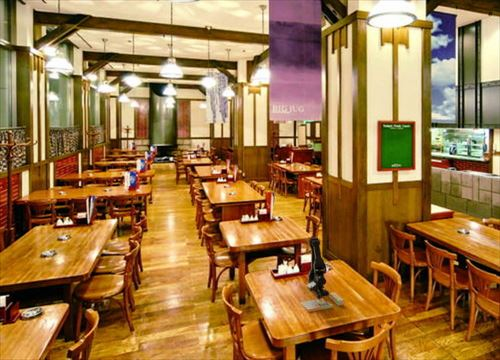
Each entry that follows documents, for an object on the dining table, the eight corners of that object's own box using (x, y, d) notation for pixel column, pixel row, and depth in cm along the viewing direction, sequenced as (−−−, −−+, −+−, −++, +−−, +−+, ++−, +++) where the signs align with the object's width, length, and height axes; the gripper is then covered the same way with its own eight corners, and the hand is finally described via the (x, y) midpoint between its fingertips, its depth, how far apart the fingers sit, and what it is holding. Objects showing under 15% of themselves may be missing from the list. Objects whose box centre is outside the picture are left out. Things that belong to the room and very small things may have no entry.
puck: (315, 302, 247) (315, 299, 246) (322, 301, 248) (322, 298, 247) (319, 305, 242) (319, 302, 241) (325, 304, 243) (325, 301, 243)
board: (299, 303, 247) (299, 300, 246) (322, 299, 252) (322, 296, 252) (308, 313, 235) (308, 309, 234) (332, 308, 240) (332, 304, 240)
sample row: (328, 299, 253) (329, 293, 252) (334, 298, 254) (335, 292, 254) (337, 307, 242) (337, 300, 241) (343, 305, 244) (344, 299, 243)
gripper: (302, 274, 252) (302, 295, 254) (315, 286, 234) (314, 308, 237) (316, 272, 255) (316, 292, 258) (330, 284, 237) (329, 305, 240)
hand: (318, 299), depth 248 cm, fingers closed
